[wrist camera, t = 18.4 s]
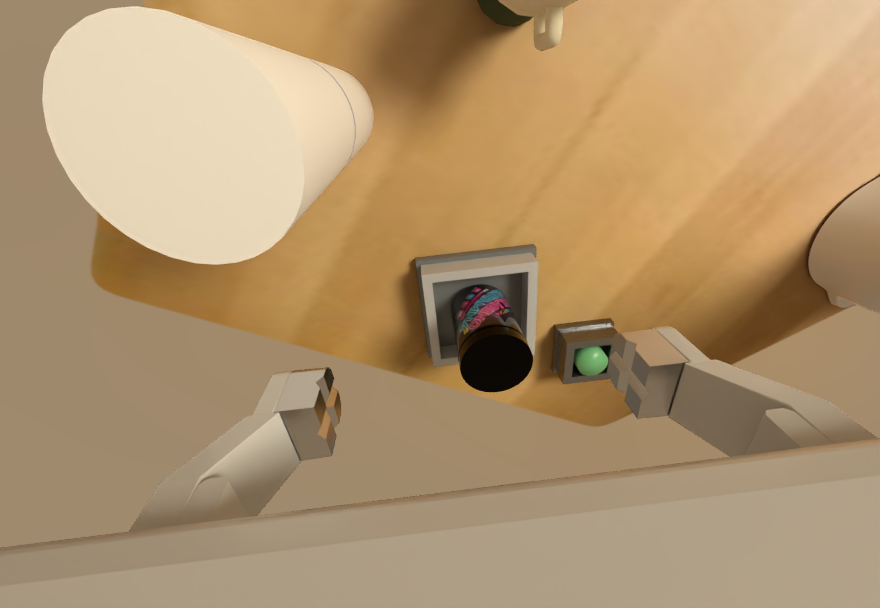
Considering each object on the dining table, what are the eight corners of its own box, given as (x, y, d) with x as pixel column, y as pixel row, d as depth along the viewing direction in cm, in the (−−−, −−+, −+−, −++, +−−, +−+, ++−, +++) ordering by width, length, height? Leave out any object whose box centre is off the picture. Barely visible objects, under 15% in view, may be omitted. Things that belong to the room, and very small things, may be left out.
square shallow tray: (533, 244, 40) (543, 256, 37) (530, 340, 47) (538, 357, 44) (415, 257, 40) (415, 271, 37) (428, 352, 47) (429, 370, 44)
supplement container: (519, 297, 42) (548, 352, 33) (486, 339, 45) (504, 401, 36) (470, 271, 40) (487, 322, 31) (438, 317, 43) (445, 376, 34)
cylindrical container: (386, 139, 34) (345, 219, 12) (318, 169, 35) (167, 292, 13) (350, 51, 31) (204, -47, 9) (274, 87, 32) (-24, 75, 10)
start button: (600, 338, 45) (610, 350, 43) (597, 361, 47) (606, 374, 45) (571, 341, 45) (579, 354, 43) (569, 364, 47) (576, 377, 45)
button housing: (610, 318, 46) (624, 334, 43) (603, 362, 49) (615, 379, 46) (554, 324, 46) (564, 341, 43) (551, 368, 49) (560, 386, 46)
